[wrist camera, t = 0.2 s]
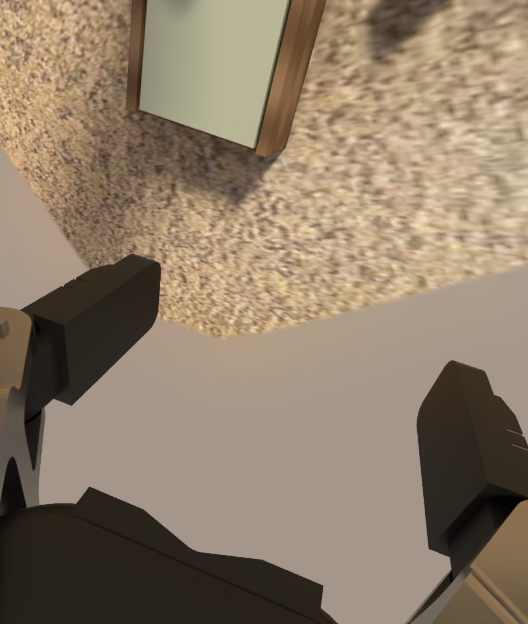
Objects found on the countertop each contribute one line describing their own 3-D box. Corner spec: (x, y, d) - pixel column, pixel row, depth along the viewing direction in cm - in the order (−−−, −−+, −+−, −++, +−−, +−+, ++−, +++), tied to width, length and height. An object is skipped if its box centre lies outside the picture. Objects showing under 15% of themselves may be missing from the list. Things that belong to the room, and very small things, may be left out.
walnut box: (195, -130, 28) (143, -195, 22) (350, -88, 27) (340, -145, 20) (169, 108, 36) (126, 109, 30) (285, 147, 35) (265, 157, 29)
